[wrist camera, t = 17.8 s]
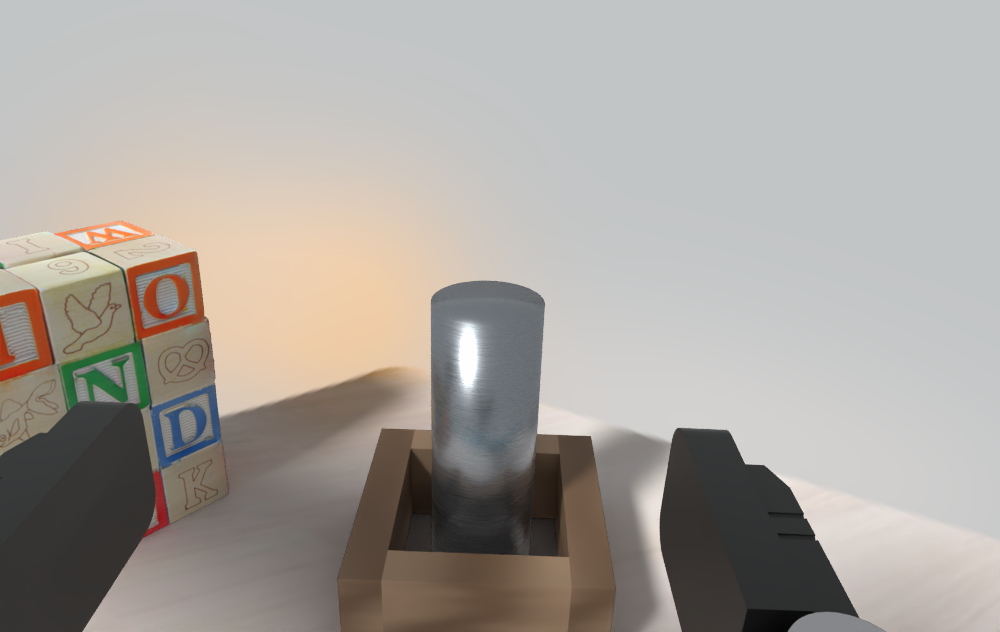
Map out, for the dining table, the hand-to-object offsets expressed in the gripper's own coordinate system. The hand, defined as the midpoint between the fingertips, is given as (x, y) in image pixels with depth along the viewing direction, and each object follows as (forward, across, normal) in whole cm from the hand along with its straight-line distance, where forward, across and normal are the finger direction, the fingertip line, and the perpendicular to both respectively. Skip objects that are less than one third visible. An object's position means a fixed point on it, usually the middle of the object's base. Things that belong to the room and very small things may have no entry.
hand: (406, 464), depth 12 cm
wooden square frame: (+15, -1, +16) cm, 22 cm away
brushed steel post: (+15, -1, +16) cm, 22 cm away
